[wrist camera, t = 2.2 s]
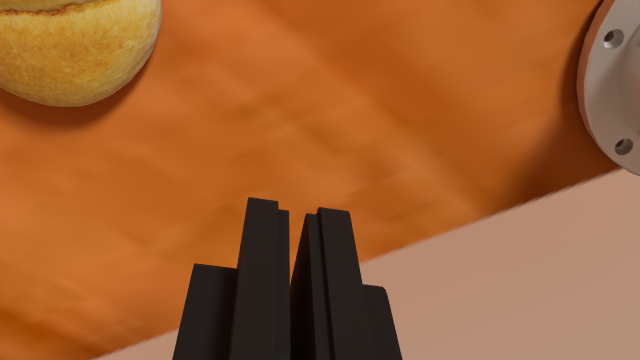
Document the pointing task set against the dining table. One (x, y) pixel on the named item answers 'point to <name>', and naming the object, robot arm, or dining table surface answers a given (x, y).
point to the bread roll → (74, 47)
